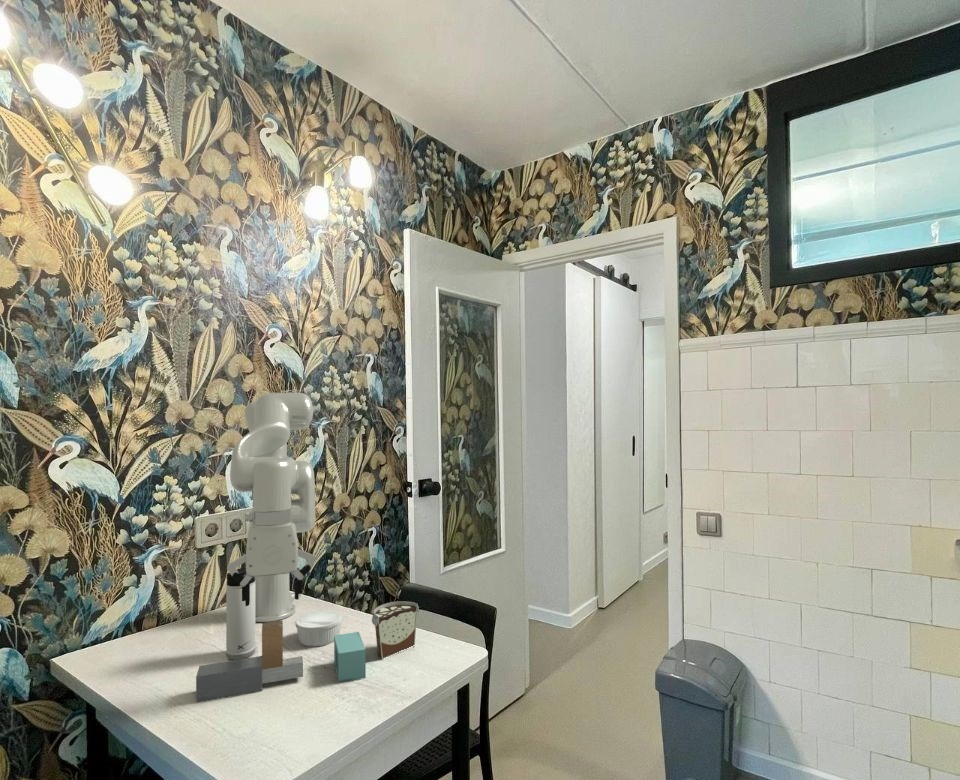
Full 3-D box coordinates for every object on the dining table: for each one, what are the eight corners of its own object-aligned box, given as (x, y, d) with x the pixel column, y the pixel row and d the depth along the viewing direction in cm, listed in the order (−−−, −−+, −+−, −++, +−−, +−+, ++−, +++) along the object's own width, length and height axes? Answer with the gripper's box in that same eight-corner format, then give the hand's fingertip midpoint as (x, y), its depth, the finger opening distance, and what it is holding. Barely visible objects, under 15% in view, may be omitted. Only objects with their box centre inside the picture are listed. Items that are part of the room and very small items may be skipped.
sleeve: (196, 702, 108) (196, 676, 108) (199, 690, 112) (199, 665, 112) (261, 690, 112) (261, 665, 112) (262, 679, 116) (262, 655, 117)
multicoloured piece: (202, 695, 108) (202, 638, 109) (204, 685, 112) (204, 631, 113) (303, 677, 115) (302, 624, 115) (302, 669, 119) (302, 617, 119)
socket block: (338, 682, 115) (338, 653, 115) (334, 662, 124) (334, 635, 124) (365, 678, 116) (365, 649, 117) (359, 658, 126) (358, 631, 126)
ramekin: (297, 652, 130) (297, 629, 130) (293, 635, 140) (293, 614, 140) (345, 643, 134) (345, 621, 134) (338, 627, 144) (338, 607, 145)
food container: (404, 637, 137) (403, 597, 137) (419, 644, 133) (419, 603, 133) (361, 653, 128) (361, 610, 129) (376, 661, 124) (376, 616, 124)
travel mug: (245, 661, 125) (246, 572, 126) (220, 659, 127) (220, 571, 127) (262, 649, 131) (262, 565, 132) (237, 647, 133) (237, 563, 133)
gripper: (225, 524, 109) (225, 612, 108) (316, 517, 115) (316, 600, 114) (228, 518, 116) (228, 601, 115) (313, 512, 122) (314, 590, 121)
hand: (272, 600), depth 115 cm, fingers open, 9 cm apart
